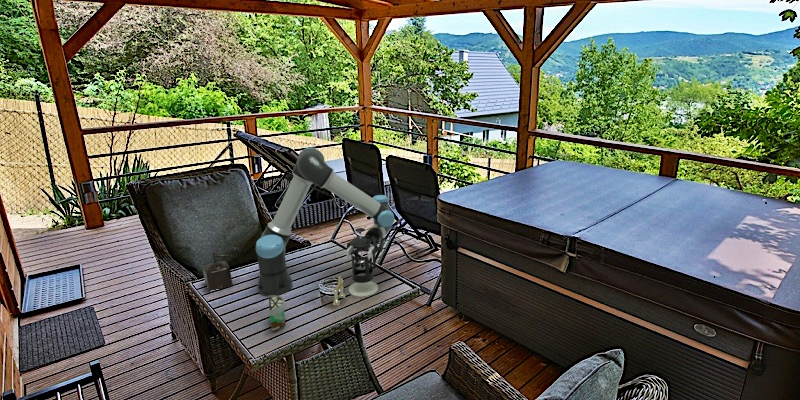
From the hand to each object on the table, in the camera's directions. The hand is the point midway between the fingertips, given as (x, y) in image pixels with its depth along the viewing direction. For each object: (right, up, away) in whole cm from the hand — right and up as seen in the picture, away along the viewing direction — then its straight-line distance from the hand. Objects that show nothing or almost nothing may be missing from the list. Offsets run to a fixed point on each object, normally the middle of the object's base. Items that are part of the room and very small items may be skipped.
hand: (357, 254), depth 189 cm
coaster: (+2, -16, +10) cm, 19 cm away
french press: (+2, -11, +8) cm, 14 cm away
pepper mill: (-63, -16, +19) cm, 68 cm away
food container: (-29, -25, -14) cm, 41 cm away
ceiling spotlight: (-8, -19, +4) cm, 21 cm away
